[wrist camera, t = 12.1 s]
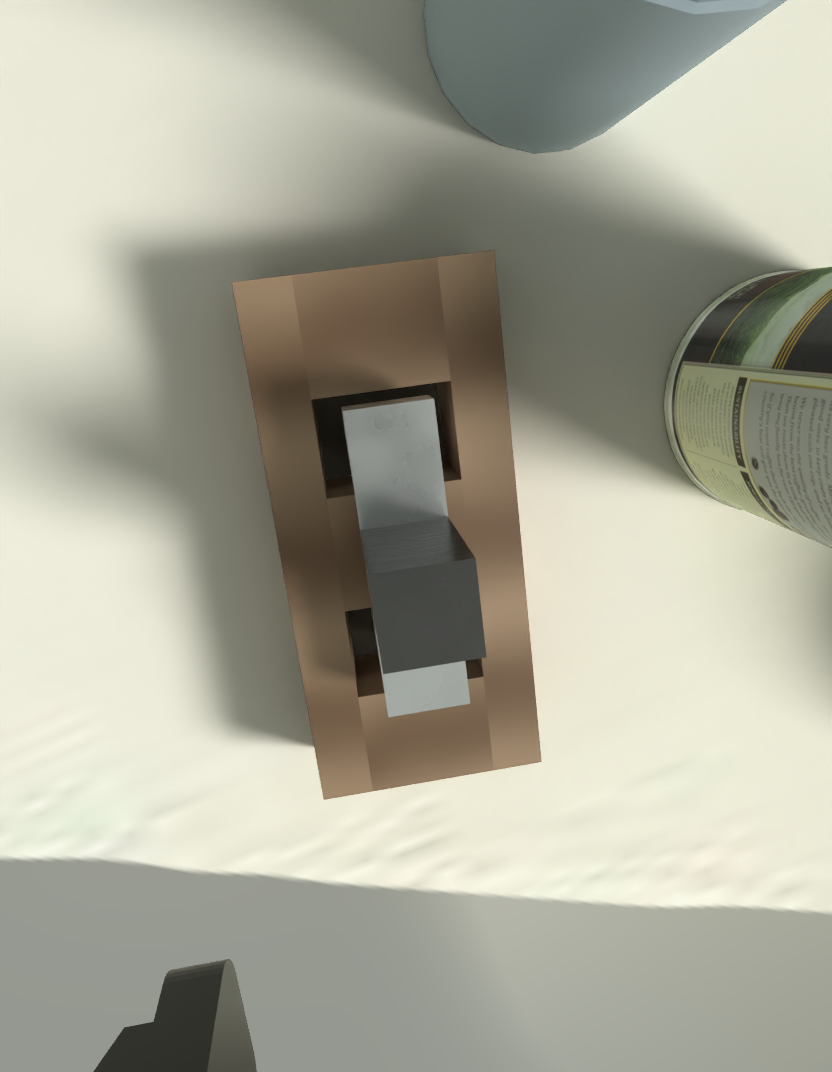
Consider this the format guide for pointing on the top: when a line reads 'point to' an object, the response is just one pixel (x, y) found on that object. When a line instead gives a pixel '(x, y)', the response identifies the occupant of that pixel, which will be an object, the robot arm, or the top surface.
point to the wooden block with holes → (331, 514)
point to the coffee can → (760, 400)
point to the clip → (413, 556)
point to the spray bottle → (570, 60)
